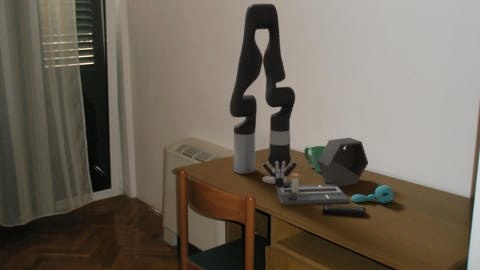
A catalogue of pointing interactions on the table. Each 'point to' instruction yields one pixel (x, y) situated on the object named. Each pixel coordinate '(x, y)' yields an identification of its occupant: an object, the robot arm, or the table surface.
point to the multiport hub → (344, 211)
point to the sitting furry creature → (271, 178)
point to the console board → (310, 194)
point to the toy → (376, 195)
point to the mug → (314, 156)
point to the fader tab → (295, 182)
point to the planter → (343, 161)
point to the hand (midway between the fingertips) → (279, 187)
